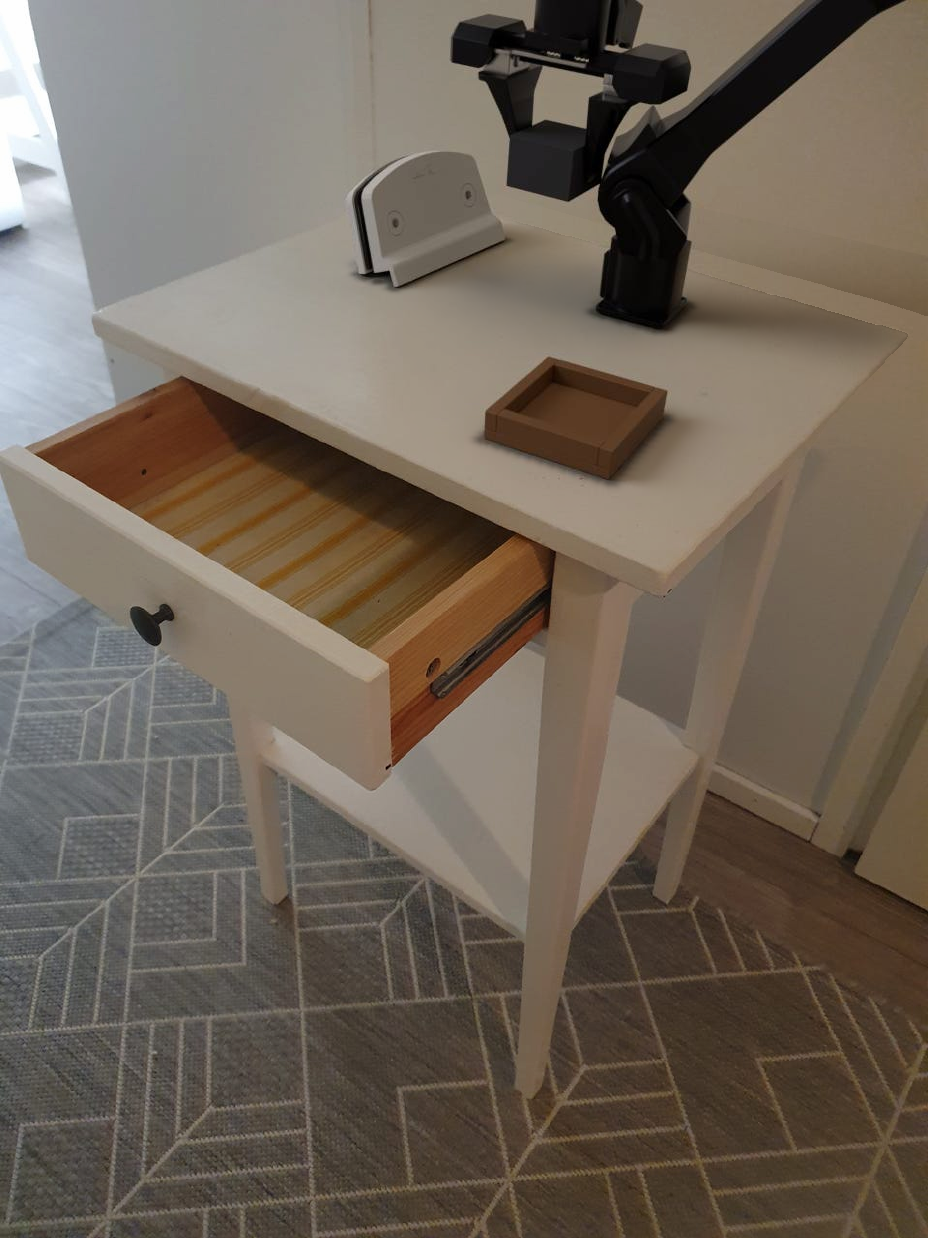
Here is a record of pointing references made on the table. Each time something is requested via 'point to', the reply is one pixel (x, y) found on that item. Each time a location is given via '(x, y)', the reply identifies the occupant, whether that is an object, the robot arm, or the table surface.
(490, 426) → the shallow brown tray
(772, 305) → the table surface
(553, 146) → the black block
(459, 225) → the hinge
